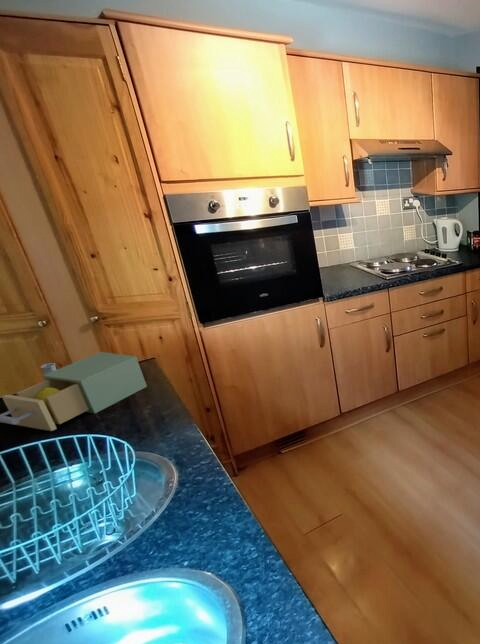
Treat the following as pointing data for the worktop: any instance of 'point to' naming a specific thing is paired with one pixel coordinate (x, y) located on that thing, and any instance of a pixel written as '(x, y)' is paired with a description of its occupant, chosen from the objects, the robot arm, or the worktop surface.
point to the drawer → (35, 411)
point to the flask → (48, 368)
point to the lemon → (45, 393)
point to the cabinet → (103, 378)
